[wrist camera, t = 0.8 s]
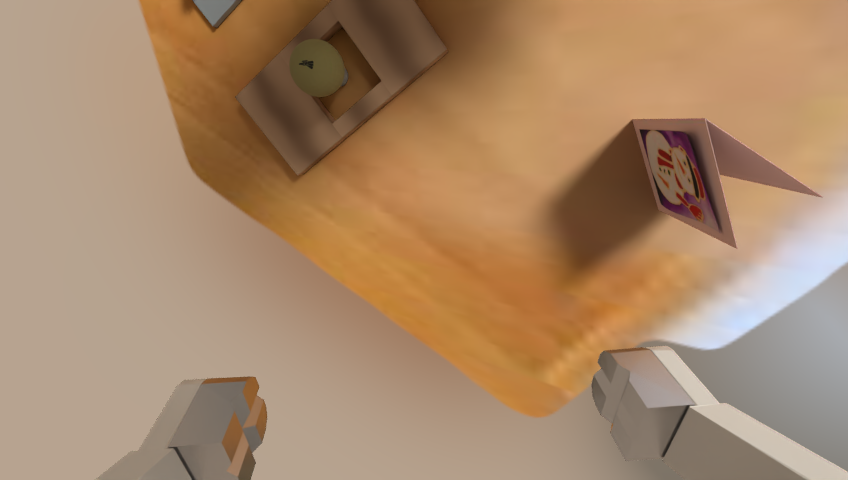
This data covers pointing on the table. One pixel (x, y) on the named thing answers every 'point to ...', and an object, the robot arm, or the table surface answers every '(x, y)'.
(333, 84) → the light bulb
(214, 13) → the V-block
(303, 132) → the wooden board with hole
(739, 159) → the greeting card
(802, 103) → the table surface
